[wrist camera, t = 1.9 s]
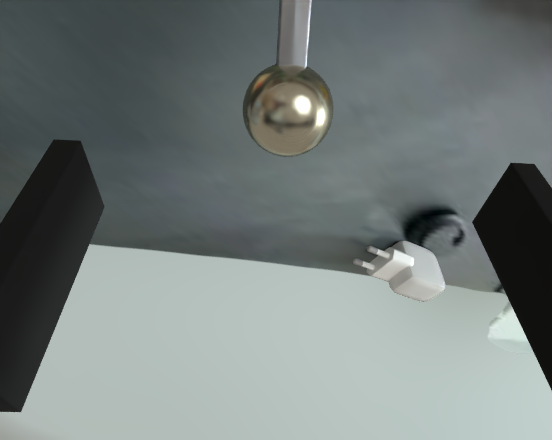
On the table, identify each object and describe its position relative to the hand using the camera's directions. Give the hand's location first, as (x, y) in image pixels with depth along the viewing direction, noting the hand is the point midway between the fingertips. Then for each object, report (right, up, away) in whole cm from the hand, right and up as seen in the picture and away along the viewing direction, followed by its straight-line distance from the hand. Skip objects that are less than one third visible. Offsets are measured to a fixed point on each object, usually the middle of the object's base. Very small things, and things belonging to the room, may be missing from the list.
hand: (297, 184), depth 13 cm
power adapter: (+14, -4, +35) cm, 38 cm away
